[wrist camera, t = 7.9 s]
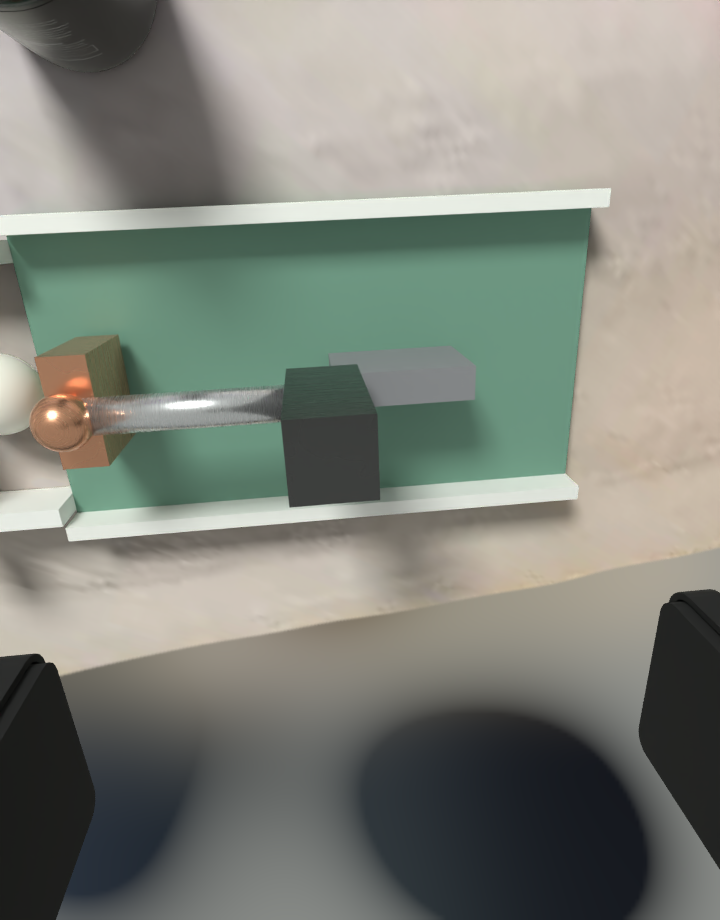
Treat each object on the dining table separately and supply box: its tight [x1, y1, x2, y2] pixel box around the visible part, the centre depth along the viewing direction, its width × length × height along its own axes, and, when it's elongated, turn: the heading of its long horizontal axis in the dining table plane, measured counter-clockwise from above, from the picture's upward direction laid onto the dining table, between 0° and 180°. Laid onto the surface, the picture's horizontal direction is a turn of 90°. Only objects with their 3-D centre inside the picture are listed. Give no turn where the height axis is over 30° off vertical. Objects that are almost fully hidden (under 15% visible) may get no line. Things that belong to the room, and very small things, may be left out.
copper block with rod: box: [29, 334, 380, 508], centre depth 24 cm, size 13×5×12 cm, turn 93°
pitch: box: [0, 188, 611, 541], centre depth 28 cm, size 34×16×6 cm, turn 92°
